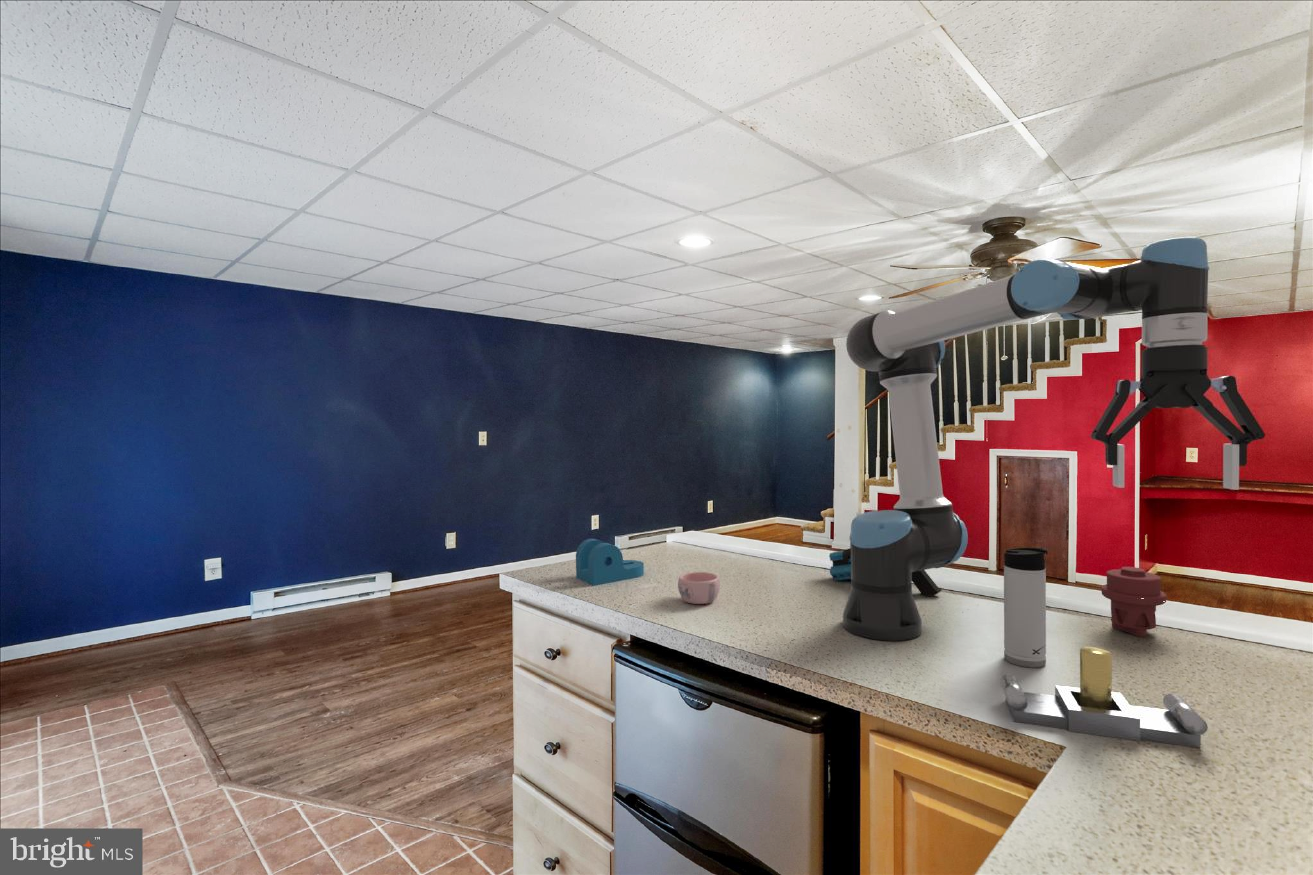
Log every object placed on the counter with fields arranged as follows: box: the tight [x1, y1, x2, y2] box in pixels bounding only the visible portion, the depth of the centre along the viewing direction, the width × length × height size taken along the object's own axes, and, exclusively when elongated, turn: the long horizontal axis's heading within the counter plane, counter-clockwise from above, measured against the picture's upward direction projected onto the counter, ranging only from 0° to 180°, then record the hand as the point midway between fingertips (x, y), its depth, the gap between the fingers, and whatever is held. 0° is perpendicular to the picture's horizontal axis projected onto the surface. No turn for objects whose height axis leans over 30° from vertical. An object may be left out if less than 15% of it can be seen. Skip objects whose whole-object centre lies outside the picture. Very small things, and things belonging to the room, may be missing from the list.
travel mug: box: [1003, 547, 1049, 669], centre depth 107 cm, size 6×7×20 cm
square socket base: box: [1000, 673, 1208, 749], centre depth 86 cm, size 22×8×4 cm, turn 68°
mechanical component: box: [1101, 566, 1167, 638], centre depth 121 cm, size 12×10×10 cm
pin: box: [1079, 646, 1113, 710], centre depth 86 cm, size 4×4×10 cm
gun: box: [828, 548, 943, 597], centre depth 156 cm, size 8×26×15 cm, turn 44°
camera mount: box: [575, 538, 645, 587], centre depth 172 cm, size 18×10×10 cm, turn 123°
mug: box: [677, 571, 721, 605], centre depth 148 cm, size 12×10×6 cm
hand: (1173, 487), depth 92 cm, fingers open, 13 cm apart
